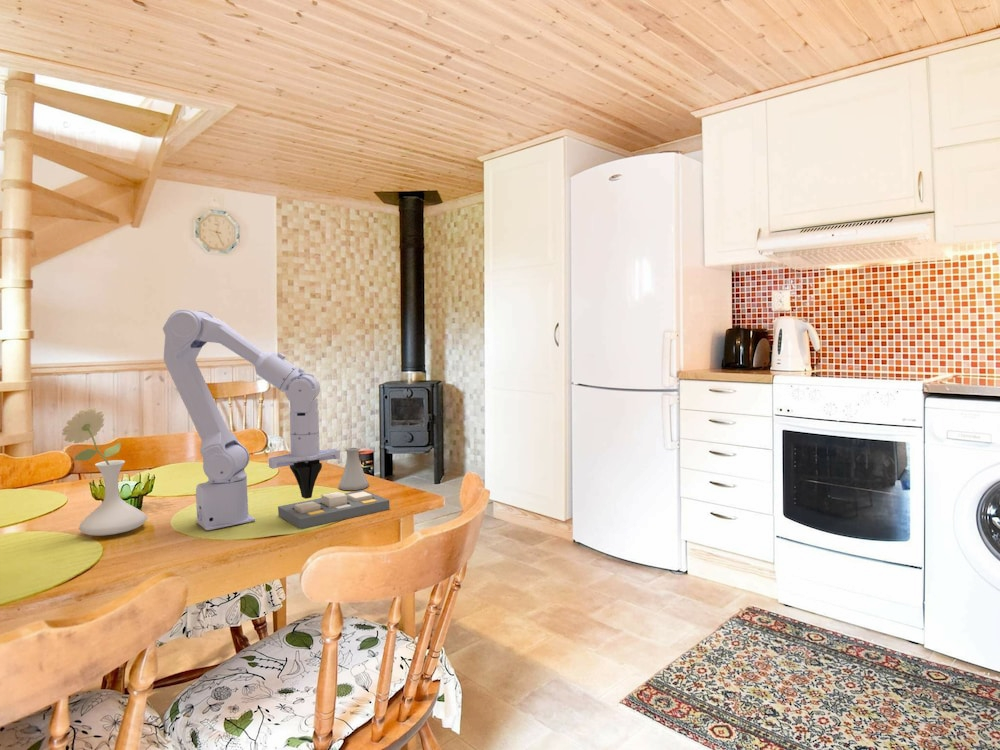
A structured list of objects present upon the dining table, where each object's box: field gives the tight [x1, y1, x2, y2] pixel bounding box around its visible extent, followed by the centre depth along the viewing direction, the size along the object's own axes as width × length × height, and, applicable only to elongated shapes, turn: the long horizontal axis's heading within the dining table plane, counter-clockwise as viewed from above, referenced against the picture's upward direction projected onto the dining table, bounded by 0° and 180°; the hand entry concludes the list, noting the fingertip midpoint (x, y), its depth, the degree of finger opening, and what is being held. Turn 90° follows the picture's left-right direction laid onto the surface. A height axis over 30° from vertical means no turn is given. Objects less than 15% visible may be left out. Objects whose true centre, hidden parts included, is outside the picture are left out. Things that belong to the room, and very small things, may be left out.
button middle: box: [321, 491, 347, 508], centre depth 131 cm, size 4×4×2 cm
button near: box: [294, 501, 321, 514], centre depth 127 cm, size 4×4×2 cm
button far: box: [347, 491, 372, 502], centre depth 135 cm, size 4×4×2 cm
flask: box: [338, 446, 370, 491], centre depth 152 cm, size 7×7×10 cm
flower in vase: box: [62, 407, 148, 537], centre depth 119 cm, size 13×11×25 cm
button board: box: [277, 489, 391, 530], centre depth 131 cm, size 20×12×2 cm, turn 130°
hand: (306, 497), depth 127 cm, fingers closed
